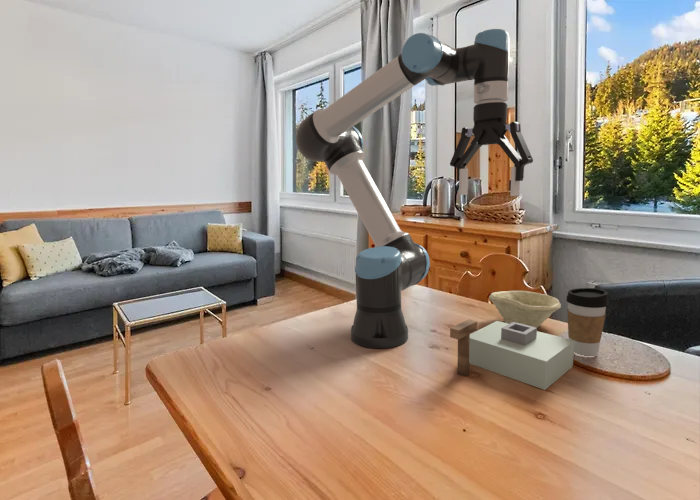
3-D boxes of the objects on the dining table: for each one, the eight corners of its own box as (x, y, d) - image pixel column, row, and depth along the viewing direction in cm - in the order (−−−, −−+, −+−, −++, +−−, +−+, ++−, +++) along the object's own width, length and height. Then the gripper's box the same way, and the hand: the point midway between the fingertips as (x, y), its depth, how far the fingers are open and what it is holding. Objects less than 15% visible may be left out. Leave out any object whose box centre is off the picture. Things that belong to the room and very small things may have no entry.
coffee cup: (610, 361, 93) (615, 296, 90) (569, 359, 94) (573, 295, 92) (596, 346, 101) (601, 286, 98) (558, 344, 102) (562, 285, 100)
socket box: (464, 361, 95) (465, 326, 93) (496, 343, 104) (497, 311, 103) (544, 390, 82) (547, 349, 80) (572, 366, 91) (575, 329, 89)
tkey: (467, 366, 93) (468, 319, 91) (477, 369, 91) (478, 321, 89) (448, 377, 88) (449, 327, 86) (458, 380, 86) (459, 330, 84)
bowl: (493, 340, 117) (484, 297, 126) (561, 337, 114) (547, 292, 123) (498, 314, 106) (487, 269, 116) (573, 310, 104) (556, 264, 113)
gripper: (436, 109, 104) (436, 195, 108) (536, 93, 86) (531, 197, 89) (454, 111, 109) (452, 193, 113) (552, 96, 90) (546, 195, 94)
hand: (487, 195), depth 101 cm, fingers open, 13 cm apart
